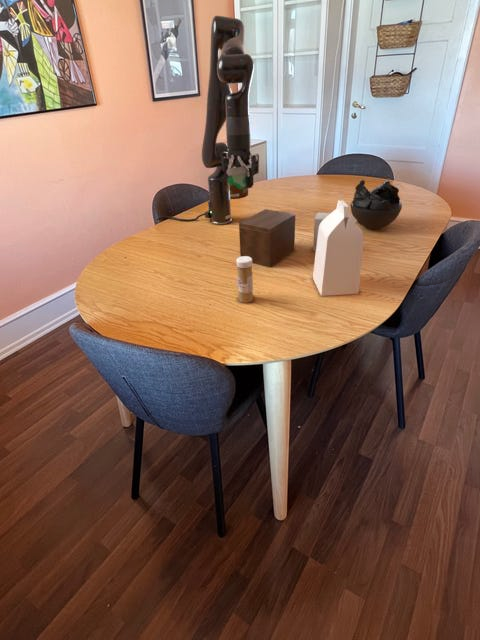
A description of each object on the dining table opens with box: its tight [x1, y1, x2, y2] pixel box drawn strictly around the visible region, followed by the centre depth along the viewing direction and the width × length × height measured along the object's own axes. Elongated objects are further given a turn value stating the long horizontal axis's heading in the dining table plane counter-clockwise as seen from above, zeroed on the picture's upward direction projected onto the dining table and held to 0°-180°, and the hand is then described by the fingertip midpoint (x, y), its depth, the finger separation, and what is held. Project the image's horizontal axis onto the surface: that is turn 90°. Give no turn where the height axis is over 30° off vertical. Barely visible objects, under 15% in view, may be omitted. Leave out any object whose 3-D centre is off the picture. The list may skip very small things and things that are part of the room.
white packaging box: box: [312, 212, 332, 252], centre depth 142 cm, size 7×7×13 cm
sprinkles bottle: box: [236, 256, 254, 303], centre depth 113 cm, size 5×5×13 cm
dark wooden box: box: [238, 208, 296, 268], centre depth 139 cm, size 13×17×14 cm
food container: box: [228, 165, 250, 200], centre depth 127 cm, size 12×6×10 cm, turn 168°
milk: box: [312, 199, 365, 297], centre depth 114 cm, size 12×12×26 cm
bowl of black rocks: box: [350, 179, 403, 230], centre depth 156 cm, size 20×20×19 cm
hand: (240, 186), depth 128 cm, fingers closed on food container, 7 cm apart
